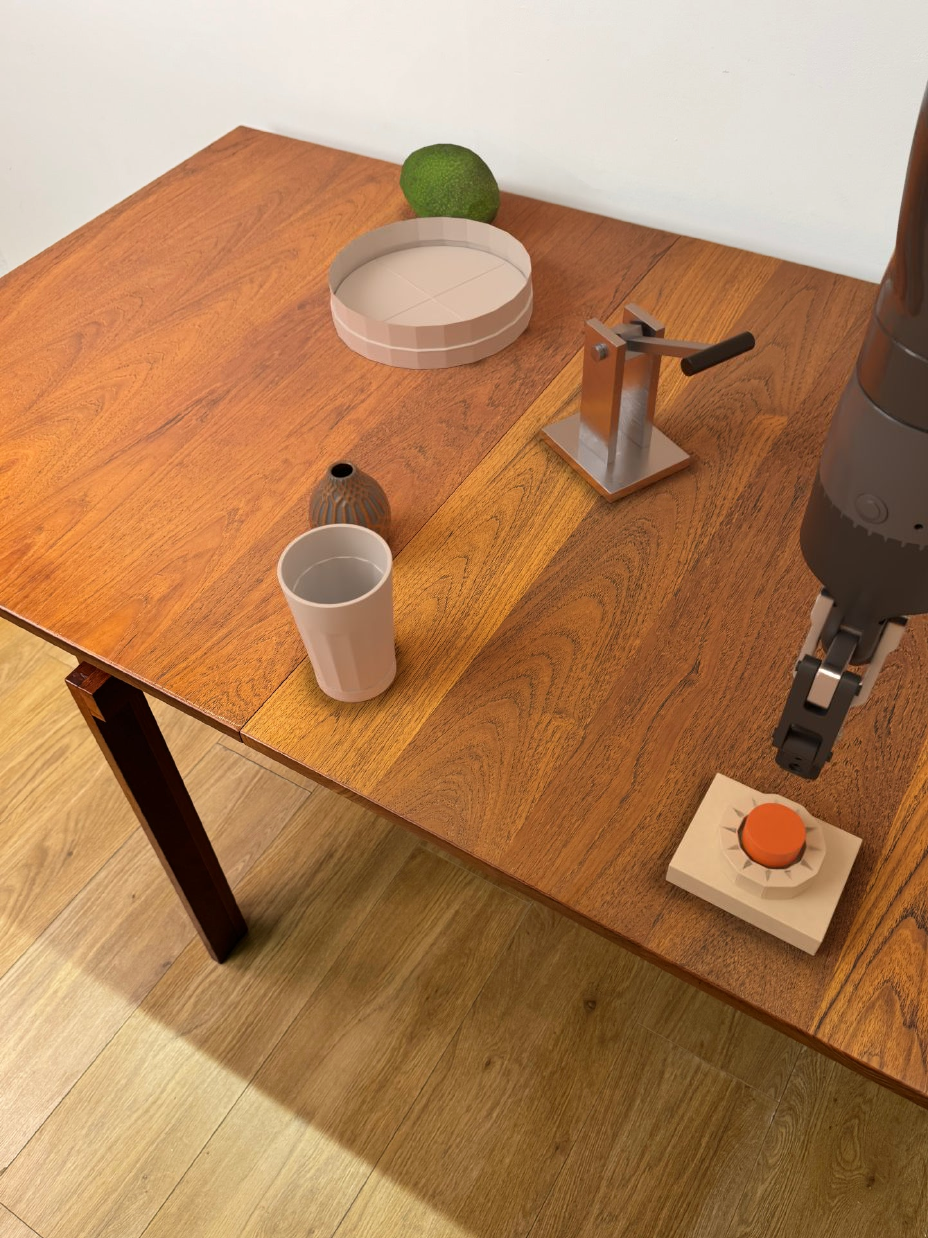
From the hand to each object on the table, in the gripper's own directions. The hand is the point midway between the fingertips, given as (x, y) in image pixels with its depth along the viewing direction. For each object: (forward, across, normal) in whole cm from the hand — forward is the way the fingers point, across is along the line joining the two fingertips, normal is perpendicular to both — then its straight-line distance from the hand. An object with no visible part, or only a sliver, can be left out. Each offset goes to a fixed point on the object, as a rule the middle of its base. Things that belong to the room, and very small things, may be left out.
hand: (825, 708), depth 52 cm
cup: (+18, 0, +33) cm, 38 cm away
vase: (+18, +10, +41) cm, 46 cm away
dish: (+18, +44, +55) cm, 73 cm away
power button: (+14, 0, 0) cm, 14 cm away
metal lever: (+5, +30, +22) cm, 38 cm away
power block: (+18, 0, 0) cm, 18 cm away
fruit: (+18, +60, +64) cm, 89 cm away
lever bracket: (+18, +33, +27) cm, 46 cm away
